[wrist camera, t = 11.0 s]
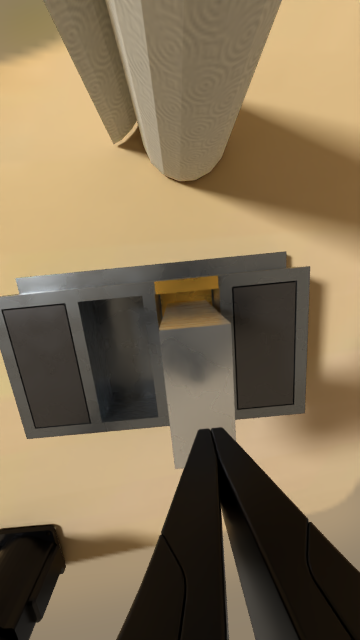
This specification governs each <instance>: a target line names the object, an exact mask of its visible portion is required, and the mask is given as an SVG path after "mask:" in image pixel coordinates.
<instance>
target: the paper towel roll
mask: <svg viewBox="0 0 360 640" xmlns="http://www.w3.org/2000/svg"><path fill="white" fill-rule="evenodd" d="M43 1H44V3H45V5H46V7H47V9H48V11H49V13H50V15H51V17H52V19H53V21H54V23H55V25H56V28H57V30H58V32H59V34H60V36H61V38H62V40H63V42H64V44H65V46H66V48H67V50H68V52H69V54H70V56H71V58H72V60H73V62H74V64H75V66H76V68H77V70H78V72H79V74H80V76H81V78H82V81H83V83H84V85H85V87H86V89H87V91H88V93H89V95H90V97H91V99H92V101H93V103H94V105H95V107H96V109H97V111H98V113H99V115H100V117H101V119H102V121H103V123H104V125H105V127H106V129H107V132H108V134H109V136H110V138H111V140H112V142H113V144H115V143H117V142H119V141H120V140H122V139H123V138H124V137H125V136H126V135H127V134H128V133H129V132H130V130H131V129H132V128H133V126H134V124H135V123H136V121H137V123H138V127H139V130H140V134H141V138H142V142H143V146H144V148H145V150H146V152H147V154H148V157H149V159H150V161H151V163H152V164H153V165H154V166H155V167H156V168H157V169H158V170H159V171H160V172H161V173H162V174H163V175H165V176H167V177H170V178H172V179H175V180H177V181H191V180H196V179H198V178H200V177H202V176H204V175H205V174H207V173H209V172H211V170H212V169H213V168H214V167H215V165H216V164H217V163H218V162H219V160H220V159H221V158H222V155H223V153H224V150H225V147H226V145H227V142H228V140H229V137H230V134H231V132H232V129H233V126H234V124H235V121H236V119H237V116H238V113H239V111H240V108H241V106H242V103H243V100H244V98H245V95H246V93H247V90H248V87H249V85H250V82H251V79H252V77H253V74H254V72H255V69H256V66H257V64H258V61H259V59H260V56H261V53H262V51H263V48H264V45H265V43H266V40H267V38H268V35H269V32H270V30H271V27H272V25H273V22H274V19H275V17H276V14H277V12H278V9H279V6H280V4H281V1H282V0H43Z"/></svg>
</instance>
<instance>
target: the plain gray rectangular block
mask: <svg viewBox="0 0 360 640" xmlns="http://www.w3.org/2000/svg"><path fill="white" fill-rule="evenodd" d="M159 337H160V345H161V354H162V362H163V371H164V379H165V388H166V396H167V405H168V413H169V421H170V430H171V438H172V447H173V455H174V464H175V469H183V468H184V467H185V464H186V462H187V459H188V456H189V453H190V451H191V448H192V445H193V442H194V439H195V437H196V434H197V431H198V430H199V429H206V428H209V429H210V430H211V428H217V427H222V428H224V429H225V430H226V431H227V433H228V434H229V435H230V436H231V437H232V438H233V439H234V440H235V441H236V431H235V406H234V382H233V357H232V333H231V323H230V322H229V321H228V320H227V319H226V318H224V317H223V316H222V315H221V314H220V313H219V312H218V311H217V310H216V309H215V308H214V307H213V306H211V305H210V304H209V303H208V302H207V301H206V300H200V301H189V302H179V303H168V304H167V306H166V310H165V313H164V316H163V319H162V322H161V325H160V328H159Z"/></svg>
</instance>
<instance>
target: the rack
mask: <svg viewBox="0 0 360 640" xmlns="http://www.w3.org/2000/svg"><path fill="white" fill-rule="evenodd" d="M16 282H17V286H18V290H19V294H15V295H7V296H0V350H1V353H2V356H3V360H4V363H5V367H6V370H7V373H8V377H9V380H10V383H11V387H12V390H13V393H14V397H15V400H16V404H17V407H18V410H19V414H20V417H21V420H22V424H23V427H24V430H25V434H26V437H27V439H33V438H43V437H54V436H65V435H76V434H86V433H97V432H108V431H119V430H129V429H140V428H151V427H162V426H170V421H169V413H168V405H167V396H166V388H165V379H164V371H163V362H162V354H161V345H160V337H159V328H160V325H161V322H162V319H163V316H164V313H165V310H166V306H167V304H168V303H179V302H189V301H200V300H206V301H207V302H208V303H209V304H210V305H211V306H213V307H214V308H215V309H216V310H217V311H218V312H219V313H220V314H221V315H222V316H223V317H224V318H226V319H227V320H228V321H229V322H230V323H231V333H232V357H233V382H234V406H235V420H237V419H248V418H259V417H269V416H280V415H291V414H302V413H305V394H306V367H307V340H308V312H309V285H310V266H308V267H289V268H286V252H276V253H266V254H256V255H246V256H236V257H226V258H215V259H205V260H195V261H185V262H175V263H165V264H155V265H145V266H135V267H124V268H114V269H104V270H94V271H84V272H74V273H64V274H54V275H44V276H33V277H23V278H16Z"/></svg>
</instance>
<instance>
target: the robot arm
mask: <svg viewBox="0 0 360 640" xmlns="http://www.w3.org/2000/svg"><path fill="white" fill-rule="evenodd" d="M221 509H222V513H223V517H224V521H225V525H226V529H227V533H228V536H229V540H230V544H231V548H232V552H233V556H234V559H235V563H236V567H237V571H238V574H239V578H240V582H241V586H242V590H243V593H244V597H245V601H246V605H247V608H248V613H249V616H250V620H251V624H252V628H253V632H254V635H255V639H256V640H360V572H359V571H358V570H357V569H356V568H355V567H354V566H353V565H352V564H351V563H350V562H349V561H348V560H347V559H346V558H345V557H344V556H343V555H342V554H341V553H340V552H339V551H338V550H337V549H336V548H335V547H334V546H333V545H332V544H331V543H330V541H329V540H327V538H326V537H325V536H324V535H323V534H322V533H321V532H320V531H319V530H318V529H317V528H316V527H315V525H313V523H312V522H309V523H308V518H307V517H306V516H305V515H304V514H303V513H302V512H301V511H300V510H299V509H298V507H297V506H296V505H295V504H294V503H293V502H292V501H291V500H290V499H289V498H288V497H287V496H286V495H285V494H284V492H283V491H282V490H281V489H280V488H279V487H278V486H277V485H276V484H275V483H274V482H273V481H272V480H271V479H270V477H269V476H268V475H267V474H266V473H265V472H264V471H263V470H262V469H261V468H260V467H259V466H258V465H257V464H256V462H255V461H254V460H253V459H252V458H251V457H250V456H249V455H248V454H247V453H246V452H245V451H244V450H243V449H242V448H241V446H240V445H239V444H238V443H237V442H236V441H235V440H234V439H233V438H232V437H231V436H230V435H229V434H228V433H227V431H226V430H225V429H224V428H222V427H217V428H211V430H210V429H209V428H206V429H199V430H198V431H197V434H196V437H195V439H194V442H193V445H192V448H191V451H190V453H189V456H188V459H187V462H186V464H185V467H184V470H183V473H182V476H181V478H180V481H179V484H178V487H177V489H176V492H175V495H174V498H173V500H172V503H171V506H170V509H169V512H168V514H167V517H166V520H165V523H164V525H163V528H162V531H161V534H162V535H160V536H159V539H158V542H157V544H156V547H155V550H154V553H153V555H152V558H151V561H150V563H149V566H148V568H147V571H146V573H145V576H144V578H143V581H142V583H141V586H140V588H139V591H138V593H137V595H136V597H135V600H134V602H133V604H132V606H131V608H130V611H129V613H128V615H127V617H126V620H125V622H124V624H123V626H122V628H121V631H120V633H119V635H118V637H117V639H116V640H229V631H228V614H227V597H226V581H225V565H224V548H223V532H222V516H221ZM65 568H66V565H65V562H64V558H63V555H62V552H61V548H60V545H59V541H58V538H57V535H56V531H55V528H54V527H52V526H42V527H31V528H20V529H8V530H0V640H29V638H30V636H31V633H32V631H33V628H34V626H35V623H36V622H39V621H40V620H41V619H42V618H43V615H44V613H45V610H46V607H47V605H48V603H49V600H50V597H51V595H52V592H53V590H54V587H55V585H56V582H57V579H58V577H59V574H63V573H64V570H65Z"/></svg>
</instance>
